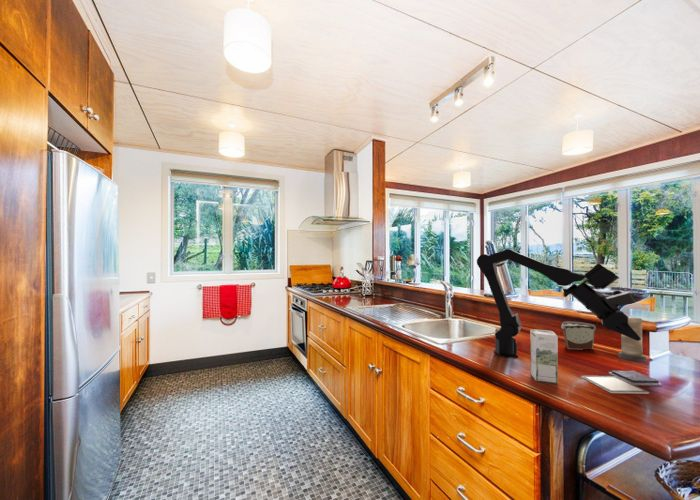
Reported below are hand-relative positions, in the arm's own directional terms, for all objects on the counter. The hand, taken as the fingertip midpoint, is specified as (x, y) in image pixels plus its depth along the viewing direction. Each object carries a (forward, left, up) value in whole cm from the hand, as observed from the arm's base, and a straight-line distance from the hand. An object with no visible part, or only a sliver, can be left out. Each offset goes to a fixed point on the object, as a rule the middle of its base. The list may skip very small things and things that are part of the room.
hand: (637, 338), depth 86 cm
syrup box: (-29, 0, -13) cm, 32 cm away
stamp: (-1, +1, -7) cm, 7 cm away
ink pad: (-1, 0, -13) cm, 13 cm away
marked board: (-11, -4, -13) cm, 17 cm away
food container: (+5, +32, -13) cm, 34 cm away
